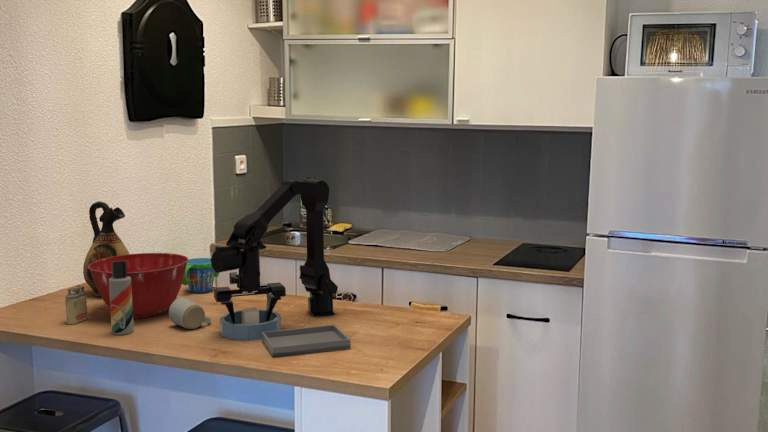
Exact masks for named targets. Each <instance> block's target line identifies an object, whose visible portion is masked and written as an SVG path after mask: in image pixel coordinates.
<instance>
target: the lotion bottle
mask: <svg viewBox="0 0 768 432" xmlns="http://www.w3.org/2000/svg"><path fill="white" fill-rule="evenodd" d="M109 291H110V309H111V310H110V309H109V310H110V322H111V323H110V324H111V333H112V334H113V335H116V336H123V335H124V336H125V335H130V334H132V333H134V318H133V307H132V287H131V277H129V276H127V261H118V262H112V278H110V279H109Z"/></svg>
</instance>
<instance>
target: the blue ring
mask: <svg viewBox="0 0 768 432" xmlns="http://www.w3.org/2000/svg"><path fill="white" fill-rule="evenodd" d="M257 309H258V311H259V324H249V325H247V324H242V309H239V310H238V309H237V310H234V316H235V324H233V323H232V320H231V317H230V315H229V312H227V313H224V314H223V315H221V316H220V317H219V331H220V334H221V336H222V337H224V338H227V339H230V340H233V341H234V340H235V341H236V340H238V341H239V340H240V341H254V340H262V334H261V332H267V331H277V330H282V315H281V314H280V312H278V311H274V310H273V311H272V313H271V316H270V319H269V321H268V322H267V321H266V309H261V308H257Z"/></svg>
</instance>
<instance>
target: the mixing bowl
mask: <svg viewBox="0 0 768 432" xmlns="http://www.w3.org/2000/svg"><path fill="white" fill-rule="evenodd" d="M188 259H189V258H188V256H186V255H182V254H177V253H170V252H169V253H168V252H141V253H129V254H128V255H120V256H113V257H108V258H104V259H100V260H97V261H94V262H92V263H90V264H89V265H88V268H89V269H90V272H91V275H92V278H93V280H94V283H95V285H96V288H97V290H98V292H99V294H100V295H101V297H100V298H101V299H102V301H103V302H104V305H106V307H107V308H108V309H109V310H110V311H111V309H110V291H109V279H110V278H112V262H118V261H127V276H129V277H131V287H132V307H133V319H134V318H135V319H138V318H139V319H141V318H149V317H153V316H158V315H160V314H163V313H164V312H165V311H166V310H169V308H170V306H171V304H172V303H173V302H174V301H175V300H176V299H177V297H178V295H179V293H180V290H181V287H182V285H183V284H182V282H183V279H184V275H185V270H186V265H187V261H188Z"/></svg>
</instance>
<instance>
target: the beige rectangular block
mask: <svg viewBox="0 0 768 432" xmlns="http://www.w3.org/2000/svg"><path fill="white" fill-rule="evenodd" d="M258 309H259V308H257V307H250V308H249V307H247V308H241V310H242V324H247V325H249V324H259V311H258Z"/></svg>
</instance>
